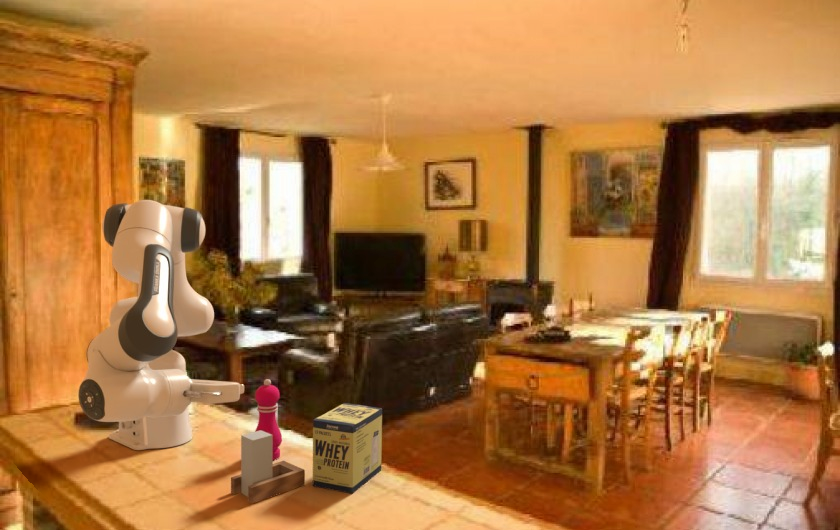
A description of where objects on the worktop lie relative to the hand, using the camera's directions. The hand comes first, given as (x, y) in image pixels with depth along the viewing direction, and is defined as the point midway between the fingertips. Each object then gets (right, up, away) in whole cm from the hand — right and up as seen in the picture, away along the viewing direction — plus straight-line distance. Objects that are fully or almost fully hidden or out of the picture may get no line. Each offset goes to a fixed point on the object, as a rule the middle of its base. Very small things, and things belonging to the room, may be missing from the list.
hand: (226, 387), depth 138 cm
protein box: (+24, -25, +17) cm, 38 cm away
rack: (+7, -25, +10) cm, 27 cm away
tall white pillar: (+5, -25, +8) cm, 26 cm away
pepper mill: (+2, -23, +29) cm, 37 cm away
